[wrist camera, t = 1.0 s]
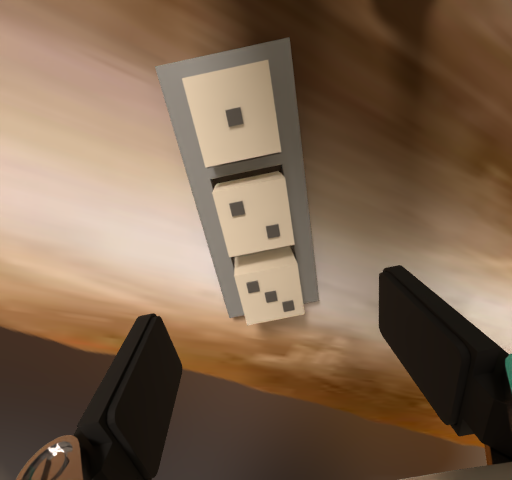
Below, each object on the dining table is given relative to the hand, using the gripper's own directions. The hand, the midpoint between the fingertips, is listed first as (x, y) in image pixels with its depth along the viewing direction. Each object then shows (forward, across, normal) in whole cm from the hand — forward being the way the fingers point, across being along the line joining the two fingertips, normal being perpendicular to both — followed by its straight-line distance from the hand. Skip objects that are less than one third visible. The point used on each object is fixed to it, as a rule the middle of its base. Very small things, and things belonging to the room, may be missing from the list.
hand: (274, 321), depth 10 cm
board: (+18, 0, 0) cm, 18 cm away
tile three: (+16, 0, +8) cm, 18 cm away
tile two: (+16, 0, 0) cm, 16 cm away
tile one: (+17, 0, -8) cm, 18 cm away
